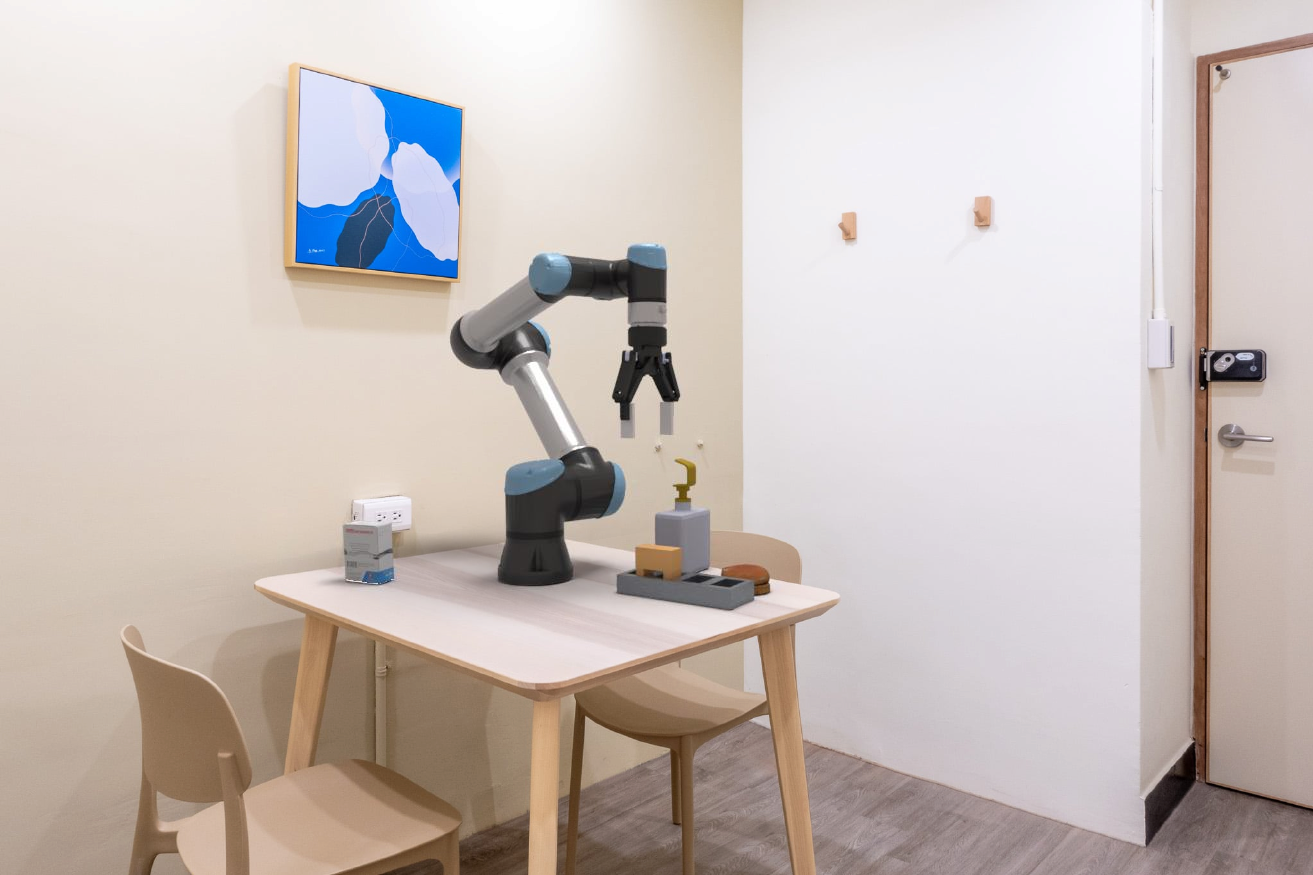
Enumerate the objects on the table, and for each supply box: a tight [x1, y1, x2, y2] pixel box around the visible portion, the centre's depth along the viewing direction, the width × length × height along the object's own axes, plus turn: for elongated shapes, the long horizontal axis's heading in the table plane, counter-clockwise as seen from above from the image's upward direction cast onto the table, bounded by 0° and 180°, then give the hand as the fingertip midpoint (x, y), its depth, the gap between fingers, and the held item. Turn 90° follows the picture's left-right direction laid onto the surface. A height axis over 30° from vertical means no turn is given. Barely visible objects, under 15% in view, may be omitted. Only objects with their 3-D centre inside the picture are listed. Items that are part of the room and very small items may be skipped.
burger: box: [720, 563, 771, 596], centre depth 167 cm, size 10×9×5 cm
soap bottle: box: [654, 458, 711, 573], centre depth 184 cm, size 12×7×23 cm, turn 147°
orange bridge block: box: [634, 543, 682, 579], centre depth 165 cm, size 8×4×7 cm, turn 57°
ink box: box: [342, 520, 395, 585], centre depth 176 cm, size 9×5×12 cm, turn 68°
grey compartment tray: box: [616, 568, 755, 611], centre depth 163 cm, size 24×9×4 cm, turn 57°
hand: (647, 436), depth 172 cm, fingers open, 13 cm apart
